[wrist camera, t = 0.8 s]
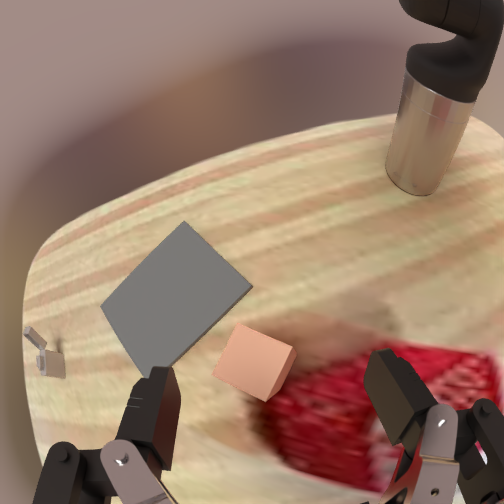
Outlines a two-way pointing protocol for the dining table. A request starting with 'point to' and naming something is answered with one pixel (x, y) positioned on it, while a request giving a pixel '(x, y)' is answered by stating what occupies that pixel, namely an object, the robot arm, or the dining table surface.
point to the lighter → (46, 356)
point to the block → (255, 362)
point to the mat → (172, 299)
